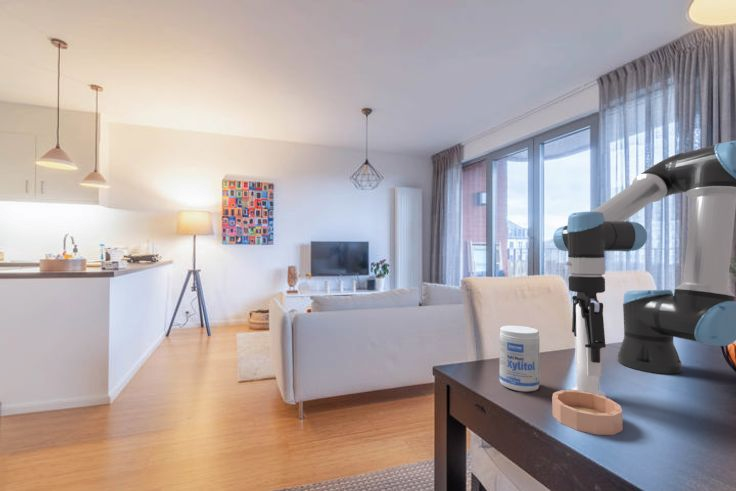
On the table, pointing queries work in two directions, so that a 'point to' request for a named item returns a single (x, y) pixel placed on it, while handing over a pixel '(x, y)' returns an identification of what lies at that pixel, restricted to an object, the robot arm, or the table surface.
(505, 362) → the supplement tub
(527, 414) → the table surface
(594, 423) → the jar dish
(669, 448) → the table surface
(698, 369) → the table surface
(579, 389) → the candle
